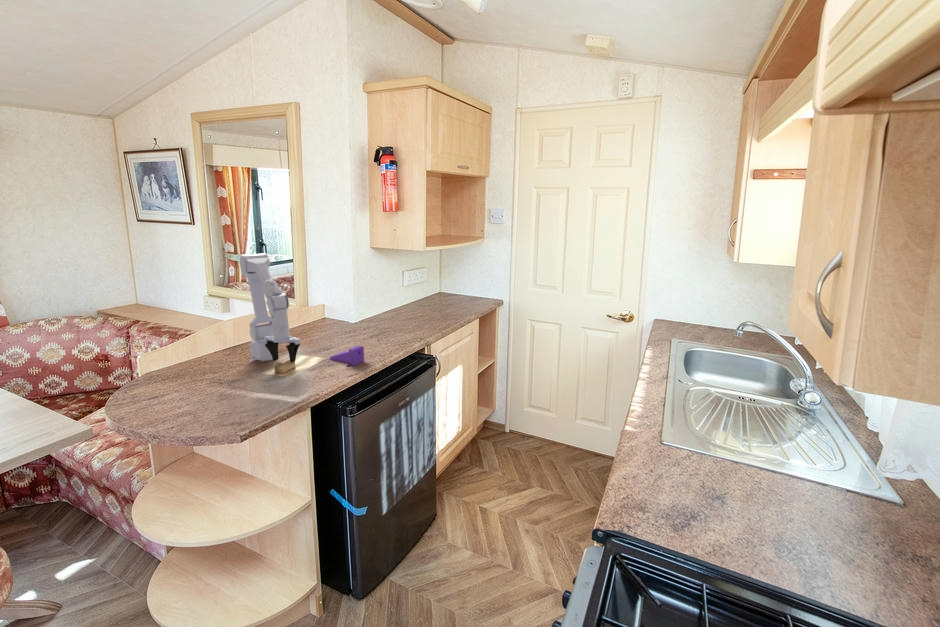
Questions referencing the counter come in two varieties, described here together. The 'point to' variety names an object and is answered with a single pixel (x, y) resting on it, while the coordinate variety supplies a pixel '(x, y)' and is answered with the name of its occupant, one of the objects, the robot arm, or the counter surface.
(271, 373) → the board
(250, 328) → the robot arm
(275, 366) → the block
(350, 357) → the bracket
